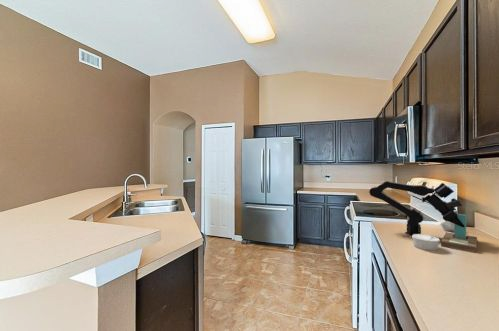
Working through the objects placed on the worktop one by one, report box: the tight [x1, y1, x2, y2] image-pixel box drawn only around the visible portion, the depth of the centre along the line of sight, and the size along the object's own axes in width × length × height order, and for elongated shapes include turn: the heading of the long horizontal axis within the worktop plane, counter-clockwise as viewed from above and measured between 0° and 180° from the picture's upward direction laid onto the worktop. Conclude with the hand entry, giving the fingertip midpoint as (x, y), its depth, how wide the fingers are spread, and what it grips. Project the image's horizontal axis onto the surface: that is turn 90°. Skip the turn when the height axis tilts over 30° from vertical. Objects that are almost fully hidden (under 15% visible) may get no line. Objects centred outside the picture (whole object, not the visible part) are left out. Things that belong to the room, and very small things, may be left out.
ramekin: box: [411, 233, 441, 252], centre depth 120 cm, size 11×11×5 cm
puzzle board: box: [440, 231, 478, 253], centre depth 125 cm, size 22×13×3 cm, turn 135°
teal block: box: [453, 213, 467, 239], centre depth 129 cm, size 4×4×12 cm
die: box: [439, 217, 454, 232], centre depth 150 cm, size 8×9×10 cm
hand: (463, 225), depth 128 cm, fingers closed on teal block, 5 cm apart
